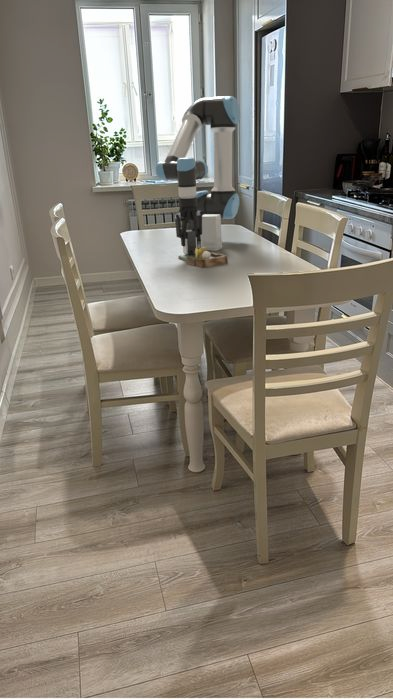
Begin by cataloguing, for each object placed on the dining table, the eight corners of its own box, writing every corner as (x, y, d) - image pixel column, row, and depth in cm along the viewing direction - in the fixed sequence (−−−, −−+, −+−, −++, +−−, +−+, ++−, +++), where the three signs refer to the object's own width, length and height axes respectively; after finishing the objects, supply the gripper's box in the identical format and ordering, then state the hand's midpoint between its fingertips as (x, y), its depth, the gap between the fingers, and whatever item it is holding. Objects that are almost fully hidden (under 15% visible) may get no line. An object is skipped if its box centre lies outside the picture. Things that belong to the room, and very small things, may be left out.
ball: (207, 258, 219) (207, 249, 217) (212, 259, 216) (212, 251, 214) (200, 259, 217) (200, 251, 215) (205, 261, 214) (204, 252, 213)
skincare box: (222, 248, 241) (221, 214, 235) (216, 251, 236) (216, 216, 230) (206, 247, 245) (204, 213, 239) (200, 250, 239) (198, 215, 233)
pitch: (200, 254, 231) (200, 247, 230) (228, 262, 215) (228, 255, 213) (175, 259, 225) (175, 252, 224) (202, 268, 208) (202, 260, 207)
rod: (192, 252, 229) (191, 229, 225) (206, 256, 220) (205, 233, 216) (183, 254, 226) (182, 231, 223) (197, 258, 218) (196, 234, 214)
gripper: (200, 194, 224) (202, 248, 233) (165, 198, 216) (168, 254, 225) (209, 195, 218) (211, 251, 227) (174, 200, 210) (177, 257, 219)
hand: (190, 252), depth 226 cm, fingers closed on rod, 4 cm apart
